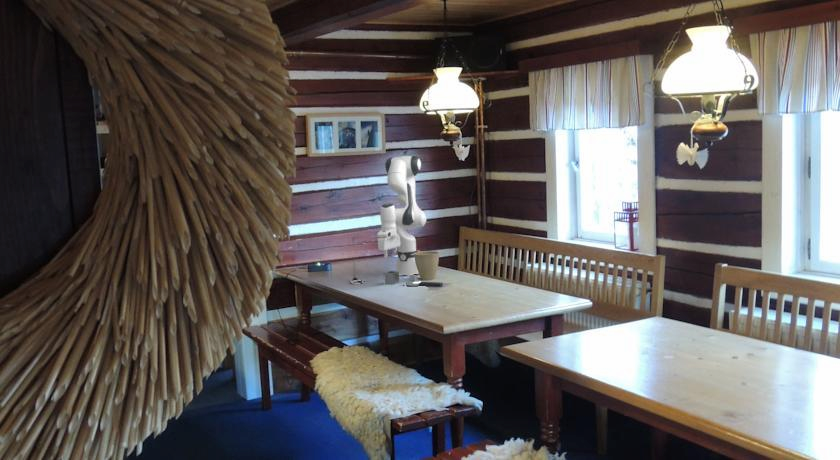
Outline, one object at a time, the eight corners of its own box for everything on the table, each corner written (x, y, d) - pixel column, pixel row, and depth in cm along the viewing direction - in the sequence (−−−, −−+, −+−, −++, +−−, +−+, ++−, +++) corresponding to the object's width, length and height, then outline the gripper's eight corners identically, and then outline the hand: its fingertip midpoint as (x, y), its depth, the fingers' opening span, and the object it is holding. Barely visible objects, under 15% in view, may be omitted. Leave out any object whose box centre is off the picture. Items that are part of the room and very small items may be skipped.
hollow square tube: (390, 283, 454) (389, 271, 453) (399, 283, 452) (398, 271, 451) (385, 285, 449) (384, 272, 448) (394, 285, 446) (393, 273, 445)
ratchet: (403, 286, 438) (402, 276, 437) (410, 283, 445) (409, 273, 445) (438, 288, 428) (437, 277, 427) (444, 285, 436) (444, 274, 435)
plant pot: (440, 281, 450) (439, 254, 448) (414, 282, 450) (413, 255, 449) (440, 276, 465) (439, 250, 463) (415, 278, 465) (414, 251, 463)
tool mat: (411, 282, 452) (410, 281, 451) (452, 284, 440) (452, 283, 440) (394, 289, 434) (394, 288, 434) (437, 291, 422) (437, 290, 422)
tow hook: (367, 283, 458) (361, 281, 467) (366, 262, 456) (360, 259, 464) (354, 285, 455) (347, 282, 463) (353, 264, 453) (346, 261, 461)
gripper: (392, 230, 457) (394, 254, 459) (375, 234, 439) (376, 259, 441) (402, 230, 454) (403, 254, 456) (385, 234, 436) (386, 259, 438)
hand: (390, 256), depth 448 cm, fingers open, 8 cm apart
